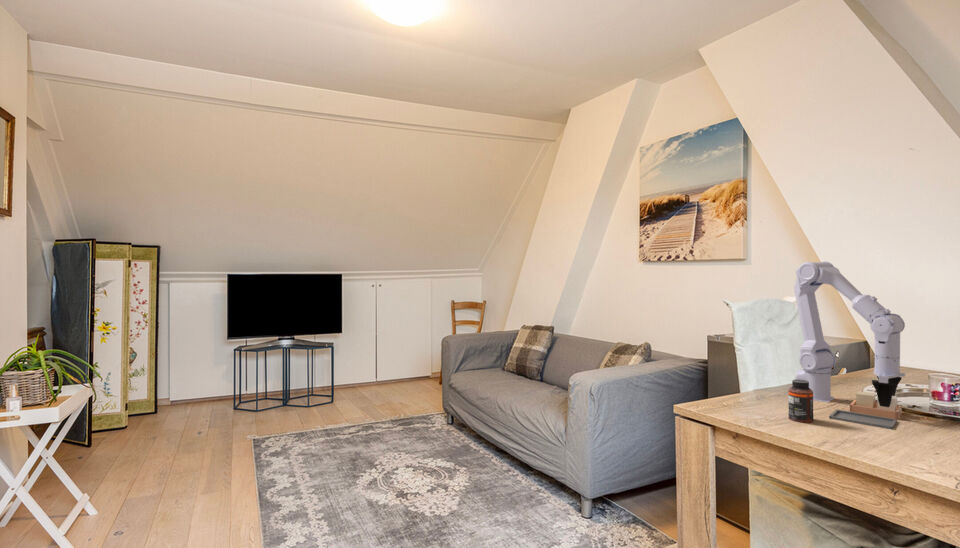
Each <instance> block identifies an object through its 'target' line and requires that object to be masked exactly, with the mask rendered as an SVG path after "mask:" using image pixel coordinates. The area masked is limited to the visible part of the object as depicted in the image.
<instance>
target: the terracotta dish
mask: <svg viewBox="0 0 960 548" xmlns="http://www.w3.org/2000/svg"><path fill="white" fill-rule="evenodd" d="M849 412H855V413H861V414H867V415H873V416H880V417H886V418H892V419H897V421H899V419H900V417H901V415H902V414H903V405H900V404H897V410H896V411H889V410H883V409H877V401H875V408H870V407H864V406H857V405H856V398H855V399H853V401H852V402H851V403H850V404H849Z"/></svg>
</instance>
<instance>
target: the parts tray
mask: <svg viewBox="0 0 960 548" xmlns="http://www.w3.org/2000/svg"><path fill="white" fill-rule="evenodd" d="M828 419H829V420H830V419H831V420H835V421H842V422H846V423H853V424H860V425H864V426H870V427H877V428H881V429H886V430H893V429H894V428H895V426H896V424H897V422H898V420H897V419H892V418H886V417H880V416H873V415H867V414H861V413H855V412H850V410H848V411H847V410H842V409H835V410H834V411H833V412H832V413H830V415H829V416H828Z"/></svg>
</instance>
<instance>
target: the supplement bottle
mask: <svg viewBox="0 0 960 548" xmlns="http://www.w3.org/2000/svg"><path fill="white" fill-rule="evenodd" d="M791 385H792V386H790V387H789V388H788V397H787V398H788V403H787V404H788V406H787V407H788V420H790V421H792V422H796V423H802V424H812V423H813V422H814V400H813V391H812V390H811V389H810V388H809V382H808V381H806V380H800V379H796V380H795V379H792V383H791Z"/></svg>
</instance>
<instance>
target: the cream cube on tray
mask: <svg viewBox="0 0 960 548" xmlns="http://www.w3.org/2000/svg"><path fill="white" fill-rule="evenodd" d="M876 399H877V400H876V402H877V409H883V410H889V411H896V410H897V405H898V396H896V395H895V396H892V399H891V404H890V406H889V407H883V406H880V404H879V401H878V396H877V398H876Z"/></svg>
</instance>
